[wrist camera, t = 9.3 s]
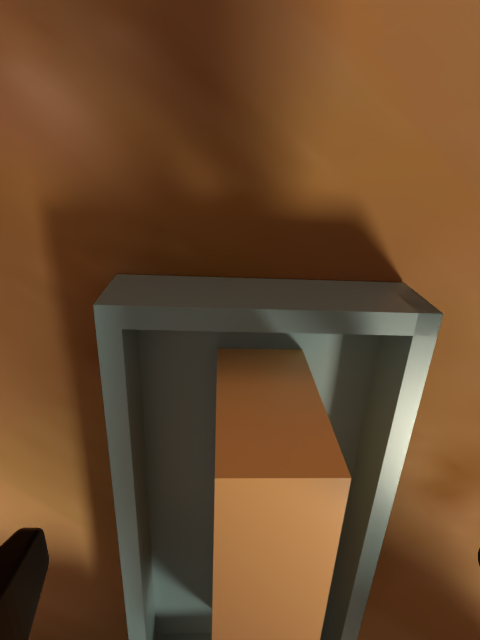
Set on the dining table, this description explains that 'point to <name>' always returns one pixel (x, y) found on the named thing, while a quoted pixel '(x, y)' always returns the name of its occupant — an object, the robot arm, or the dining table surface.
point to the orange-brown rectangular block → (273, 498)
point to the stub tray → (200, 422)
